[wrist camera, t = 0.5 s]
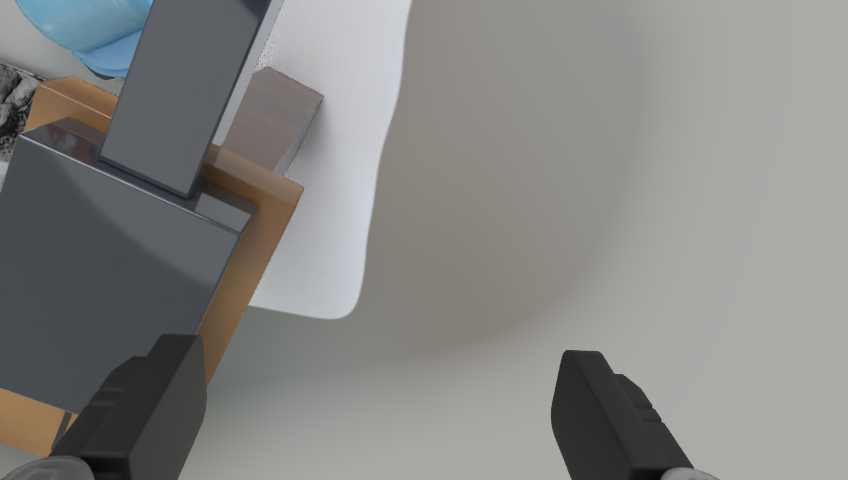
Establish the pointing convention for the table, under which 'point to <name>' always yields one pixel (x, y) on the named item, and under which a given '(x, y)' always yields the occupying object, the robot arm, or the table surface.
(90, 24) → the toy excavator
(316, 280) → the table surface
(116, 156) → the slate paddle
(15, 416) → the stand
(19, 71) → the stone
